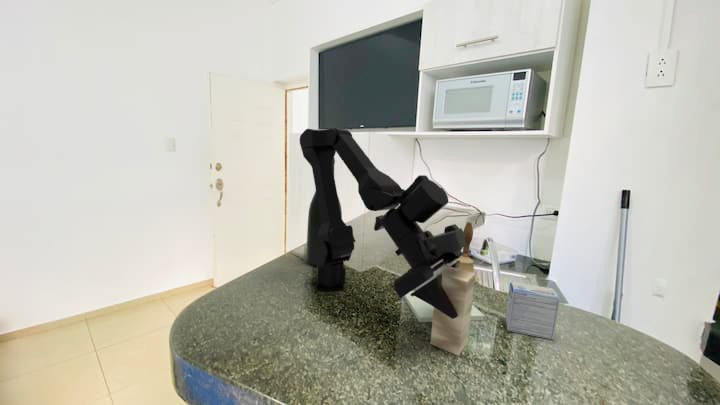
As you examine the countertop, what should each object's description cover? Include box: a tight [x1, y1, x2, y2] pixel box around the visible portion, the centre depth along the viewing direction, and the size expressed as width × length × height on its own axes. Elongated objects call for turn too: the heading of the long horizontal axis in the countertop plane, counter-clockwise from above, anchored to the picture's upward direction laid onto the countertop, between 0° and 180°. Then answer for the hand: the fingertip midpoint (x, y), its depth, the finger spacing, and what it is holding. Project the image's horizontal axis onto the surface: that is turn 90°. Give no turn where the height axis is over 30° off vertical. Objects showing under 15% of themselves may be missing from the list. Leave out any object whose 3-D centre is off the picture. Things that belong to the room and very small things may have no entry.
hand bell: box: [455, 221, 480, 284], centre depth 83 cm, size 8×8×16 cm
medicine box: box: [505, 281, 561, 341], centre depth 58 cm, size 8×4×9 cm, turn 71°
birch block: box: [429, 266, 477, 357], centre depth 52 cm, size 5×5×13 cm
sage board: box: [402, 290, 485, 323], centre depth 66 cm, size 14×12×1 cm
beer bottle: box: [305, 157, 343, 267], centre depth 88 cm, size 10×10×33 cm
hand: (460, 311), depth 51 cm, fingers closed on birch block, 5 cm apart
